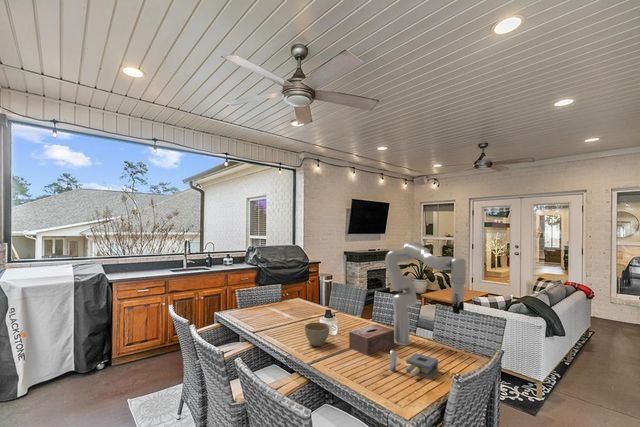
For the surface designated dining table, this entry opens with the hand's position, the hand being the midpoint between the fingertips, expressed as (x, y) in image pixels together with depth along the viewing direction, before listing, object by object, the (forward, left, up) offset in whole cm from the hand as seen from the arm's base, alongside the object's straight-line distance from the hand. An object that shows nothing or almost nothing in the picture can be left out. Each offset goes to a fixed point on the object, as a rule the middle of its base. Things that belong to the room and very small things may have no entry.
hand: (458, 311), depth 173 cm
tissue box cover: (-49, -10, -29) cm, 57 cm away
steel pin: (-24, -32, -28) cm, 49 cm away
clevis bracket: (-12, -25, -28) cm, 40 cm away
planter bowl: (-78, -29, -29) cm, 88 cm away
